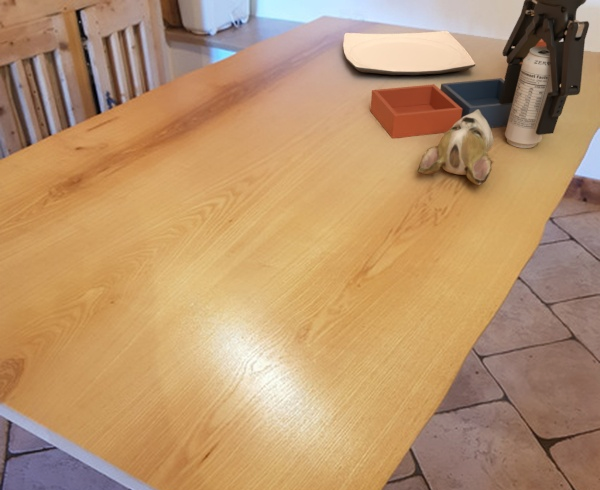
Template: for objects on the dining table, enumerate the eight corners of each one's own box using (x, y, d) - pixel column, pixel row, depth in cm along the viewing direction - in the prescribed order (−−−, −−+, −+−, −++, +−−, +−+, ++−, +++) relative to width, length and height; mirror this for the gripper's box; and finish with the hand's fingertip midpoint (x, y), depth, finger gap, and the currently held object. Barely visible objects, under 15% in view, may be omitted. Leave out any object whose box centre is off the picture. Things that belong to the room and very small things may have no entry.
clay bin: (458, 131, 99) (462, 108, 96) (392, 138, 97) (394, 115, 94) (431, 105, 108) (434, 84, 105) (370, 111, 106) (371, 89, 104)
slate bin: (529, 123, 101) (535, 101, 98) (465, 130, 99) (470, 108, 96) (496, 98, 110) (501, 78, 108) (437, 104, 108) (441, 83, 106)
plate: (350, 82, 118) (350, 69, 117) (338, 42, 140) (338, 31, 138) (481, 79, 119) (483, 66, 117) (449, 40, 140) (451, 29, 139)
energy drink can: (547, 144, 94) (575, 52, 85) (522, 152, 92) (548, 59, 82) (520, 131, 98) (544, 43, 88) (496, 139, 96) (517, 49, 86)
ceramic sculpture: (514, 104, 85) (492, 148, 75) (503, 155, 91) (480, 201, 81) (447, 94, 89) (417, 135, 79) (440, 143, 95) (412, 187, 85)
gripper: (502, -45, 87) (473, 92, 101) (593, -7, 69) (542, 151, 84) (545, -47, 88) (510, 88, 102) (645, -10, 70) (586, 147, 85)
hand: (524, 117), depth 93 cm, fingers open, 12 cm apart
